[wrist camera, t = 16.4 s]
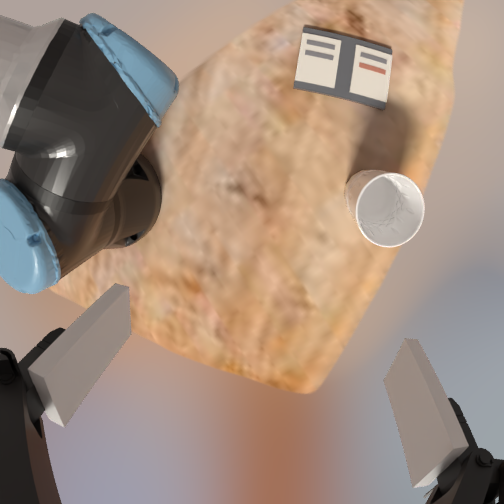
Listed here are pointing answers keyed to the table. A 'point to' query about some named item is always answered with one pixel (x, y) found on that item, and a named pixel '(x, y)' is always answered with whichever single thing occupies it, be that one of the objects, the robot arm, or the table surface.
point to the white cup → (385, 206)
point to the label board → (343, 68)
